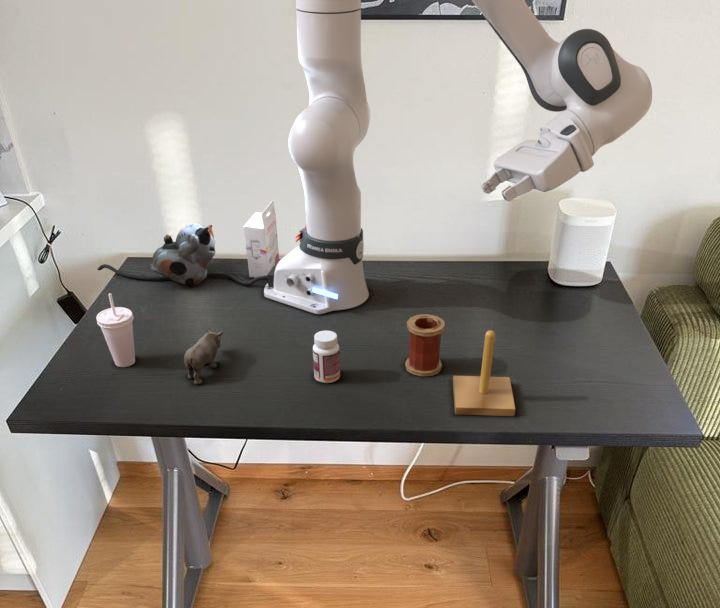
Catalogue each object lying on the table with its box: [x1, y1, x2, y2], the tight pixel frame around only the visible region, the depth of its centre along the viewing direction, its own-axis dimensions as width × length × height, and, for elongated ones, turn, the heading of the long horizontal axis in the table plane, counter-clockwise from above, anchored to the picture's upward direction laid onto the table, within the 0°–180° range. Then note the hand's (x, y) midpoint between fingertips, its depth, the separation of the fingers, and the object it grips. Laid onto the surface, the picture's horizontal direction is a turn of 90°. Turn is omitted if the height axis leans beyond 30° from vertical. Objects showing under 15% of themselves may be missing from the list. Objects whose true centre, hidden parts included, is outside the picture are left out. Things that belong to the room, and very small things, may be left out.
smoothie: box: [95, 292, 136, 368], centre depth 138 cm, size 6×6×14 cm
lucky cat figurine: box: [147, 223, 217, 287], centre depth 167 cm, size 15×12×14 cm
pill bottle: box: [312, 330, 341, 384], centre depth 136 cm, size 5×5×8 cm
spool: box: [404, 313, 446, 377], centre depth 138 cm, size 7×7×9 cm
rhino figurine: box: [183, 327, 224, 385], centre depth 139 cm, size 4×14×6 cm, turn 164°
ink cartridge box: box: [242, 200, 280, 279], centre depth 168 cm, size 9×5×15 cm, turn 168°
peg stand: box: [452, 329, 516, 417], centre depth 128 cm, size 10×10×13 cm
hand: (493, 193), depth 129 cm, fingers open, 8 cm apart
